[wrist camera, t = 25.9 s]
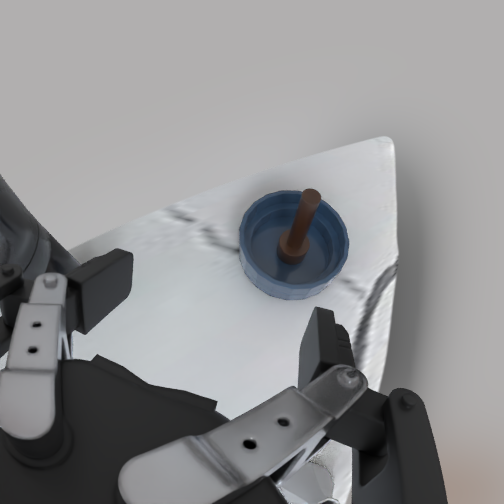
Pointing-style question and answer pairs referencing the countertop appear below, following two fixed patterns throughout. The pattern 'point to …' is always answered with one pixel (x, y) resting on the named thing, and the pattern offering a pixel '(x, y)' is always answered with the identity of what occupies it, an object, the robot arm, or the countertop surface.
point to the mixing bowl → (266, 241)
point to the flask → (310, 486)
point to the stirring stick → (299, 229)
